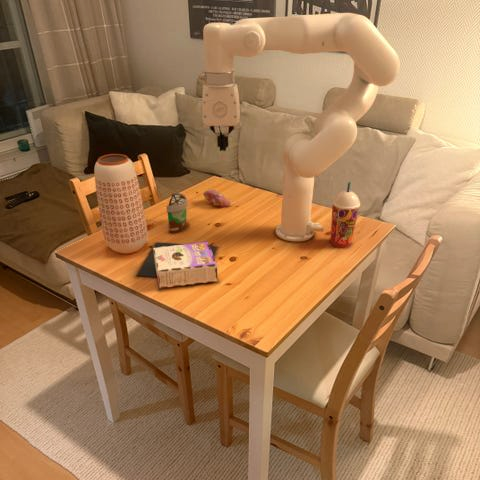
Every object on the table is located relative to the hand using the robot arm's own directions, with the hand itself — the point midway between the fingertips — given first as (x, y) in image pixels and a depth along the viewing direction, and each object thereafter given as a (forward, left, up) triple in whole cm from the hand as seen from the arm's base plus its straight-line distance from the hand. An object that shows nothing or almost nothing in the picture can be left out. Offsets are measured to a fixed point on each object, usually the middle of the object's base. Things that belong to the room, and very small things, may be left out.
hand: (223, 149), depth 131 cm
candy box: (0, +20, -26) cm, 32 cm away
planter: (+30, +10, -29) cm, 43 cm away
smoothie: (-37, -2, -29) cm, 47 cm away
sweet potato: (+8, -27, -29) cm, 40 cm away
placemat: (+12, +16, -29) cm, 35 cm away
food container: (+17, -7, -29) cm, 34 cm away
